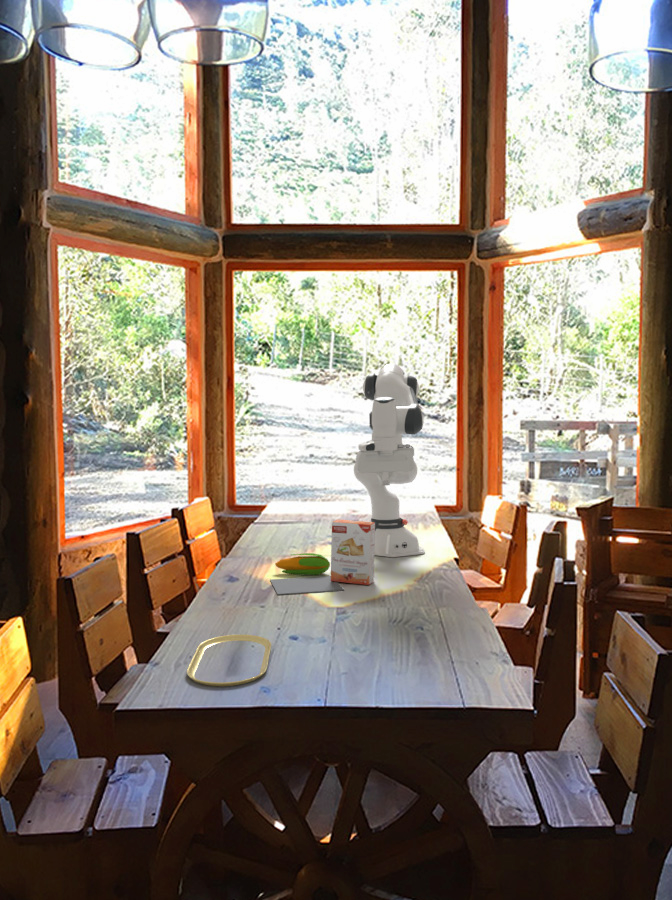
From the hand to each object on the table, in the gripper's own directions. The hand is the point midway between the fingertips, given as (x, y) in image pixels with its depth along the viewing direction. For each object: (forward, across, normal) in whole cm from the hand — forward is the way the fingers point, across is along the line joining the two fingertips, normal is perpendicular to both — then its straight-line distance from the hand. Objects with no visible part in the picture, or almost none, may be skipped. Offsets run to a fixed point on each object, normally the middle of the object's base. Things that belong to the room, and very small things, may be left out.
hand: (385, 485), depth 273 cm
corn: (+34, +26, -17) cm, 46 cm away
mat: (+33, +28, 0) cm, 43 cm away
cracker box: (+33, +12, 0) cm, 35 cm away
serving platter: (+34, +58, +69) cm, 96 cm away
